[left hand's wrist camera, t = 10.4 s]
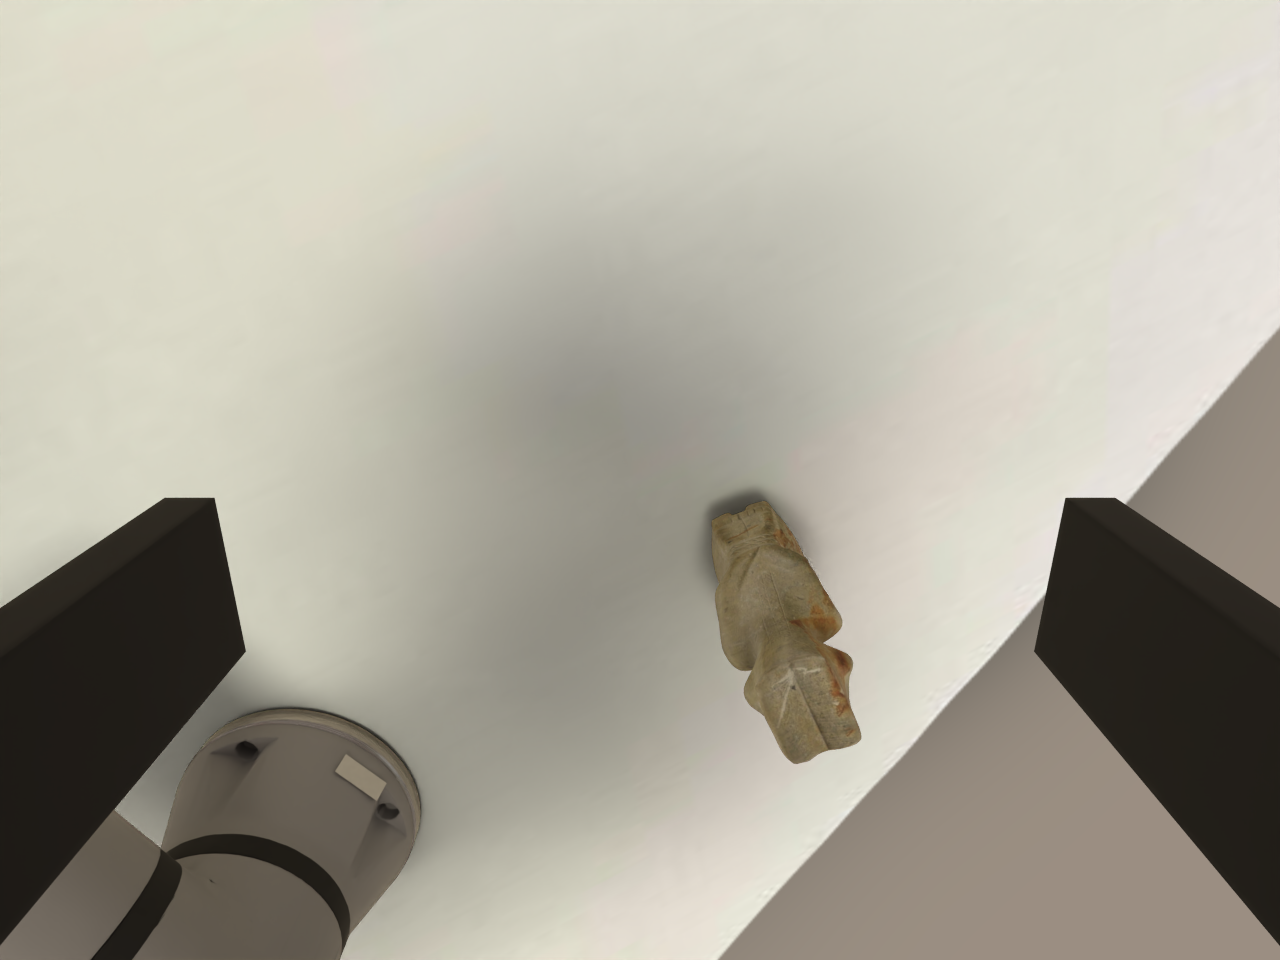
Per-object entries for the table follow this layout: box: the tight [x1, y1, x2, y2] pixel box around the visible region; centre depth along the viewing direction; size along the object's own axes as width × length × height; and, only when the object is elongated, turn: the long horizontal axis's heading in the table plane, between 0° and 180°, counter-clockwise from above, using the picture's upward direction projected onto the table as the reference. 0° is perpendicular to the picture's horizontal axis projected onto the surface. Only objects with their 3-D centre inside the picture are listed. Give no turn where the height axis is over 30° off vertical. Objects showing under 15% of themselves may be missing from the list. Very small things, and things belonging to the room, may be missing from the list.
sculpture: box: [712, 501, 861, 764], centre depth 39 cm, size 6×7×15 cm
